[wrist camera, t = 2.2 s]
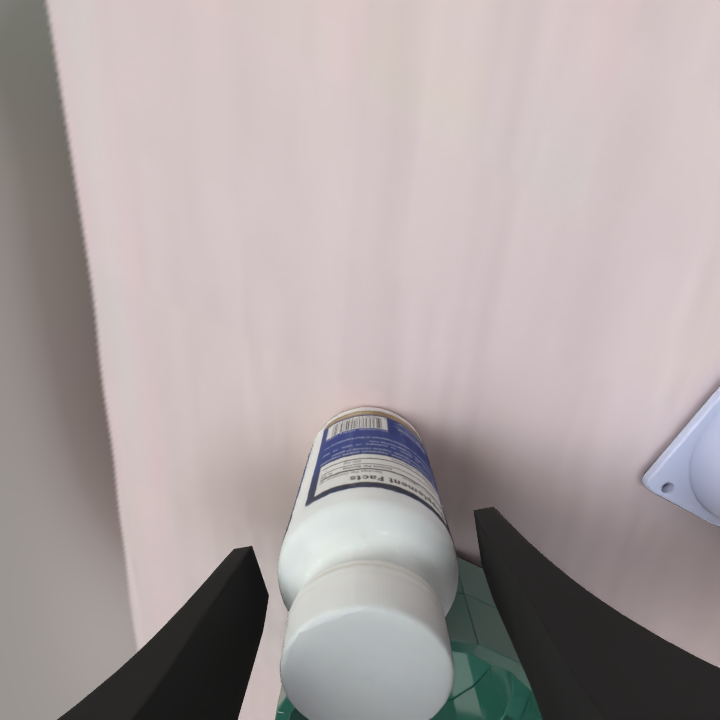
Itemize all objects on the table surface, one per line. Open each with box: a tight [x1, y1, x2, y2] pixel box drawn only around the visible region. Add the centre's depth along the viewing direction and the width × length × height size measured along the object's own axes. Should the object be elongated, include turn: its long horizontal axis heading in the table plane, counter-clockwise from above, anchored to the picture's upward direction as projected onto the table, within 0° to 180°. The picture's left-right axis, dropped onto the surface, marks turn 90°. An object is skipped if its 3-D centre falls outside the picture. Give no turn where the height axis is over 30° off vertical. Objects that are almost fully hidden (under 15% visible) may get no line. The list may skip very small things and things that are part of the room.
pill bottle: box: [278, 407, 458, 720], centre depth 13 cm, size 5×5×10 cm
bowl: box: [275, 556, 543, 720], centre depth 18 cm, size 12×12×5 cm
